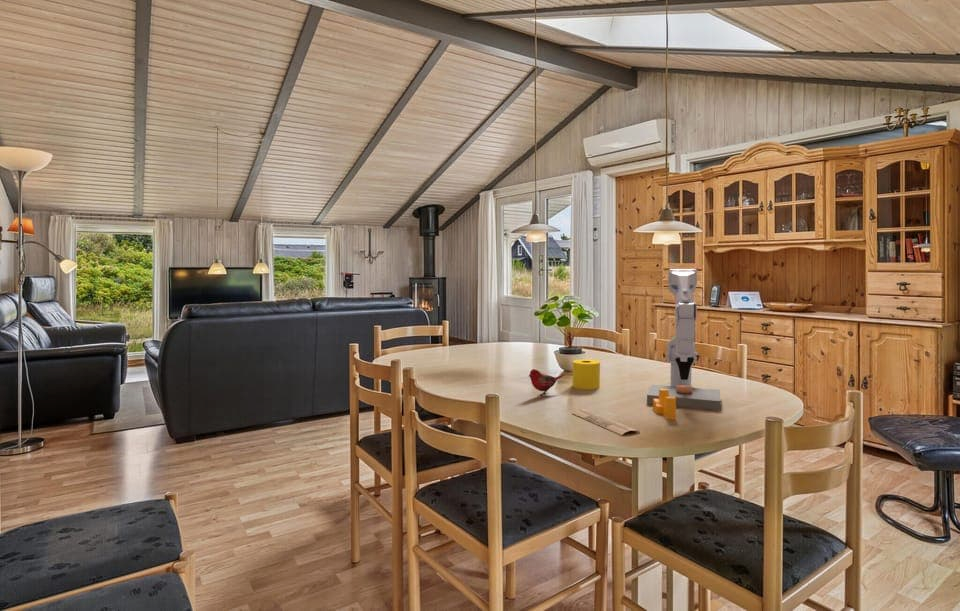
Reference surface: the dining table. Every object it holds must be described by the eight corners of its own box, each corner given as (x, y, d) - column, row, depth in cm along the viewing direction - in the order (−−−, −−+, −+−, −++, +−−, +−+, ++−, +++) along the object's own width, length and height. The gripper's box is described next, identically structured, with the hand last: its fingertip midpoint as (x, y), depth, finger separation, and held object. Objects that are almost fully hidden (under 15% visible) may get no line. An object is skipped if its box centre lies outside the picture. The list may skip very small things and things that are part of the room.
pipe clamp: (652, 408, 171) (653, 388, 170) (667, 408, 170) (667, 388, 170) (660, 419, 159) (660, 398, 158) (675, 419, 158) (676, 398, 158)
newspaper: (639, 435, 146) (639, 428, 146) (618, 439, 143) (618, 432, 143) (587, 413, 167) (587, 408, 167) (568, 416, 164) (568, 411, 164)
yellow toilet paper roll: (583, 382, 209) (583, 358, 208) (604, 386, 201) (605, 361, 201) (567, 386, 202) (567, 361, 201) (589, 390, 195) (589, 365, 194)
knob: (676, 397, 182) (676, 384, 181) (692, 399, 180) (692, 385, 179) (675, 401, 177) (675, 387, 177) (691, 402, 175) (691, 388, 175)
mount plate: (651, 392, 190) (652, 384, 190) (719, 398, 182) (719, 389, 181) (646, 403, 176) (647, 394, 175) (720, 410, 167) (720, 401, 167)
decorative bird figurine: (525, 397, 185) (525, 369, 184) (561, 390, 196) (561, 363, 195) (531, 399, 183) (531, 370, 182) (567, 391, 193) (567, 364, 193)
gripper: (697, 342, 169) (696, 385, 170) (698, 336, 182) (697, 375, 183) (673, 341, 172) (673, 383, 173) (676, 335, 185) (675, 374, 186)
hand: (684, 379), depth 178 cm, fingers closed
